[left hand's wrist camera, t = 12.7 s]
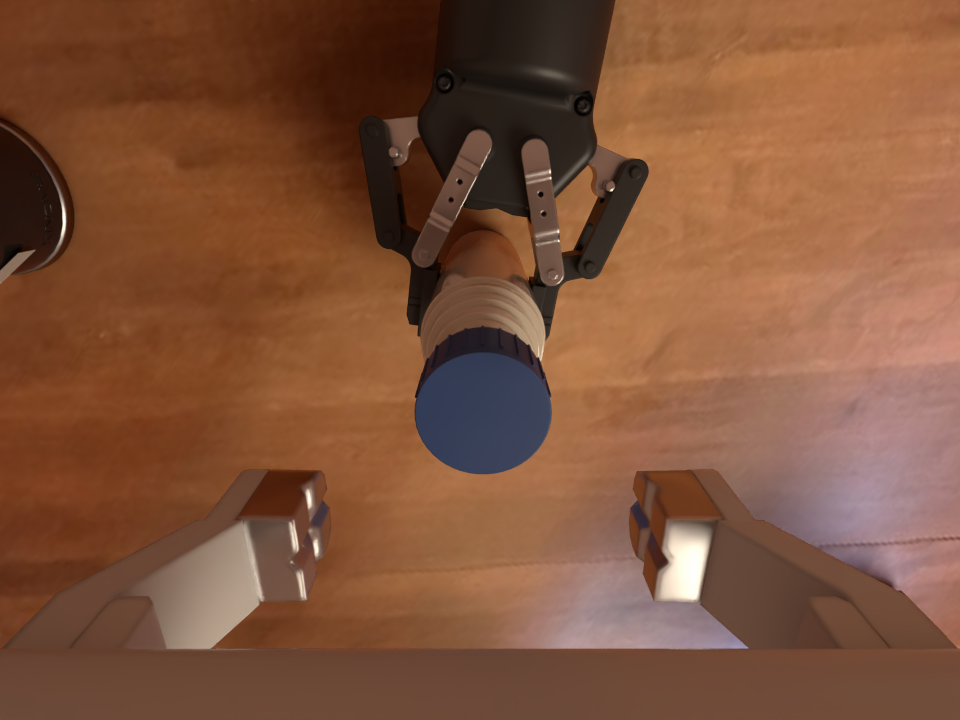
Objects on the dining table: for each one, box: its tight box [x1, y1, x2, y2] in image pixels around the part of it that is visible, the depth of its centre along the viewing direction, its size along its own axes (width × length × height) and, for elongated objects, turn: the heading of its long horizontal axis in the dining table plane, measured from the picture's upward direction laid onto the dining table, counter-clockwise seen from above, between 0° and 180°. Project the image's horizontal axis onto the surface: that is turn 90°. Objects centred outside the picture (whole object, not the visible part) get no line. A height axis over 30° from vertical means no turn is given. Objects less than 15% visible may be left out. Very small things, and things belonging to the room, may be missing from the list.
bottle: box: [421, 230, 545, 362], centre depth 24 cm, size 5×5×21 cm
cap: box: [415, 326, 552, 474], centre depth 15 cm, size 4×4×2 cm
